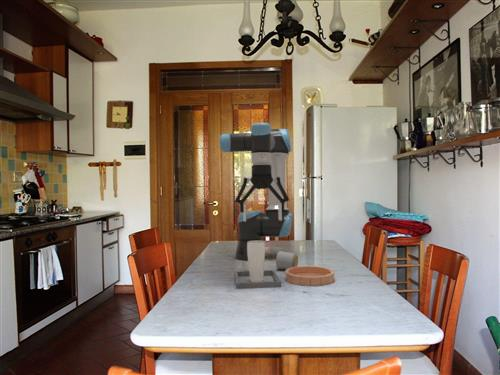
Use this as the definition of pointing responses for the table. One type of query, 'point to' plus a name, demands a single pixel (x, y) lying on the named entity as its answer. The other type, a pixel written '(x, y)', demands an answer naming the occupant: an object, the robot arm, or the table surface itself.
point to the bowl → (309, 275)
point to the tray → (257, 284)
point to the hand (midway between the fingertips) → (262, 220)
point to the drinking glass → (256, 260)
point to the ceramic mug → (286, 260)
